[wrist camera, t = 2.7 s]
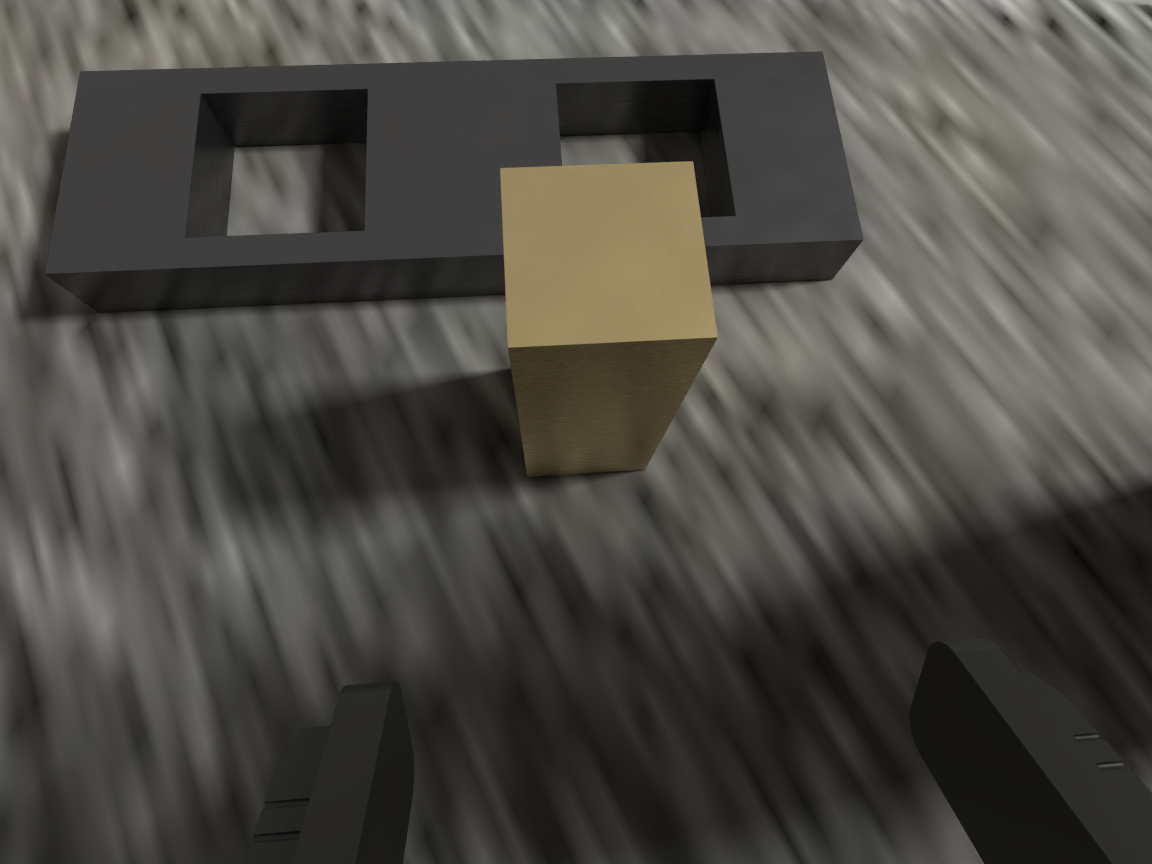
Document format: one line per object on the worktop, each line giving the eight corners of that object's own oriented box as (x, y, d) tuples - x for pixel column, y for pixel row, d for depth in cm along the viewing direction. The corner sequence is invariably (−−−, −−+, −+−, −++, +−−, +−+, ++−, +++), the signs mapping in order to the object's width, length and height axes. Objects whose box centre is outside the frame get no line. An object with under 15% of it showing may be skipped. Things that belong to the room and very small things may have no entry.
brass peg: (633, 361, 27) (693, 161, 16) (644, 469, 26) (717, 337, 15) (521, 366, 27) (500, 168, 16) (527, 476, 26) (507, 347, 14)
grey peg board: (797, 105, 31) (822, 51, 28) (832, 279, 29) (863, 239, 26) (125, 125, 30) (80, 71, 27) (98, 312, 27) (44, 273, 24)
